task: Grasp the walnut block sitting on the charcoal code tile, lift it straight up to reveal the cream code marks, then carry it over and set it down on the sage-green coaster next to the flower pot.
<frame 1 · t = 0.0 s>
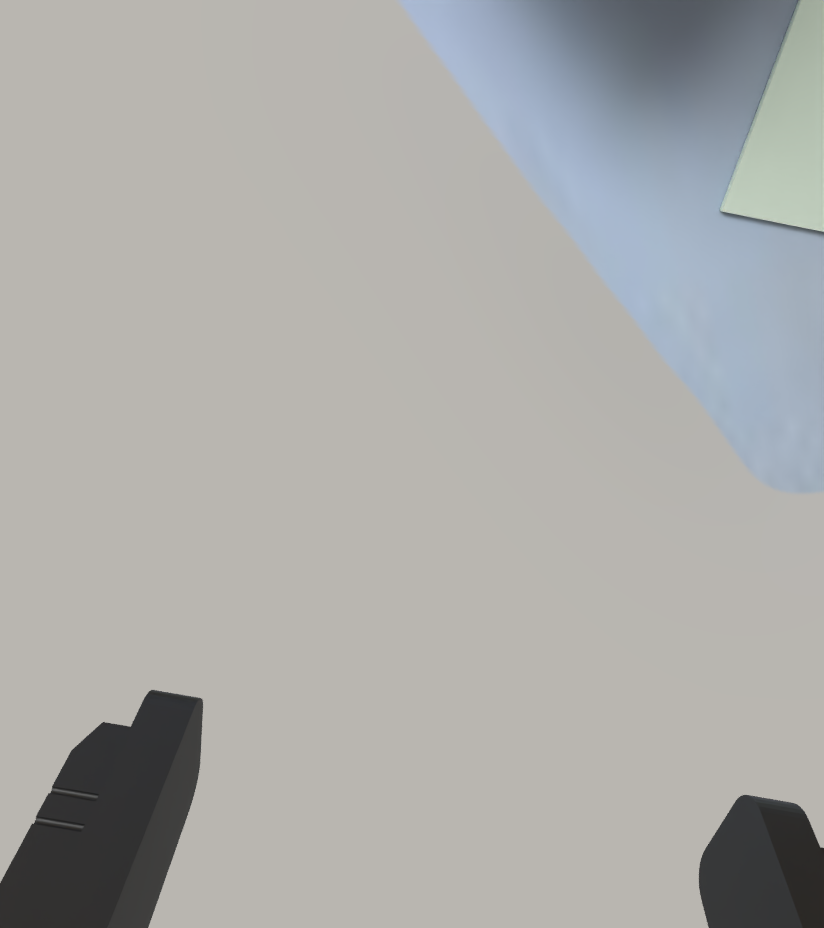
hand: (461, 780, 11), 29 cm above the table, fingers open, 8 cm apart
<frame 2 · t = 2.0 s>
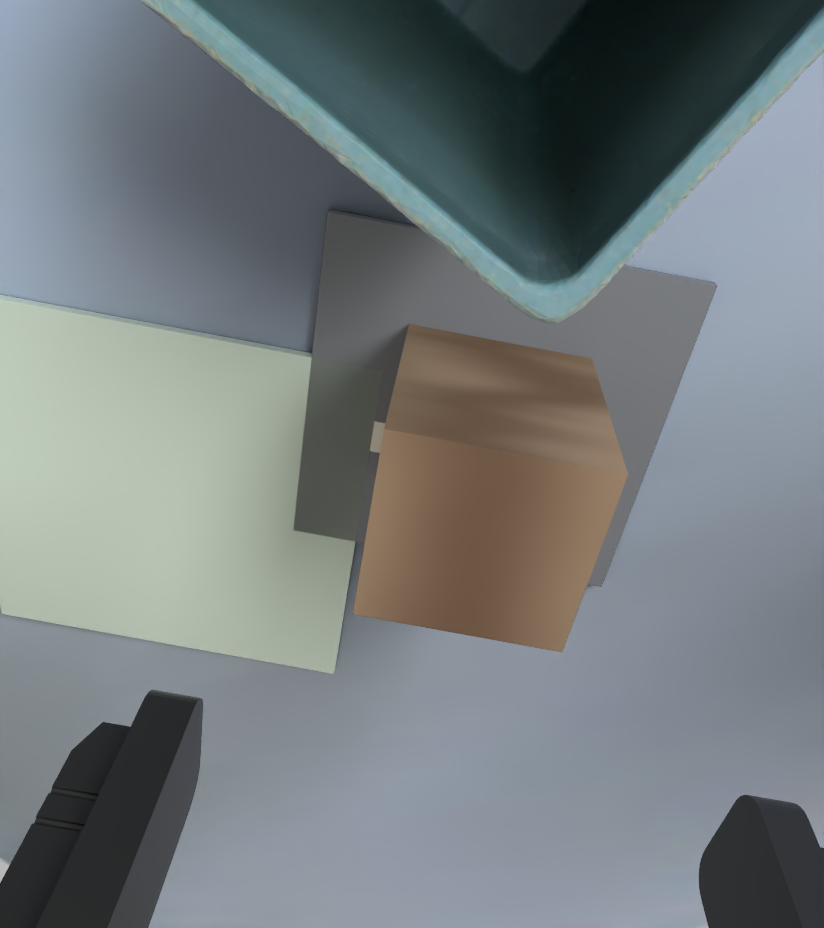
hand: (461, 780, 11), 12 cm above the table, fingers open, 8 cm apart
walnut block: (480, 422, 22), resting on code tile
code tile: (481, 417, 22), on the table
coaster: (172, 502, 24), on the table
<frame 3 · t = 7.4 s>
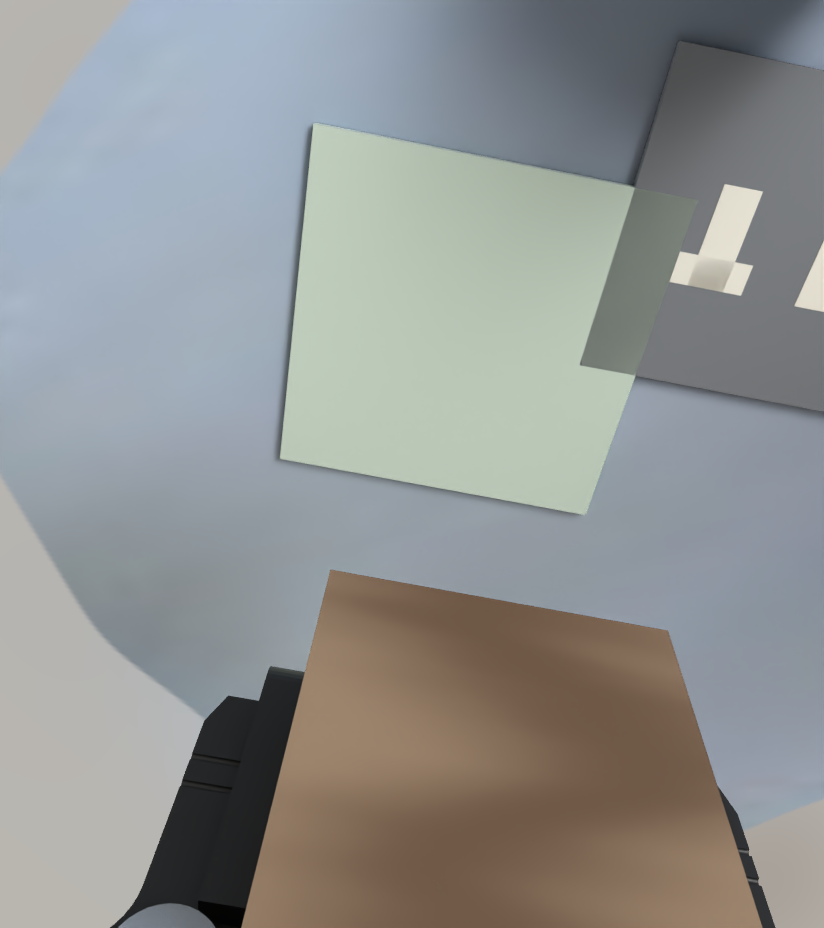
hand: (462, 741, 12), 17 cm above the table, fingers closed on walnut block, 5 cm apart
walnut block: (464, 716, 12), point 17 cm above the table, touching gripper
code tile: (775, 248, 24), on the table
coaster: (466, 340, 27), on the table
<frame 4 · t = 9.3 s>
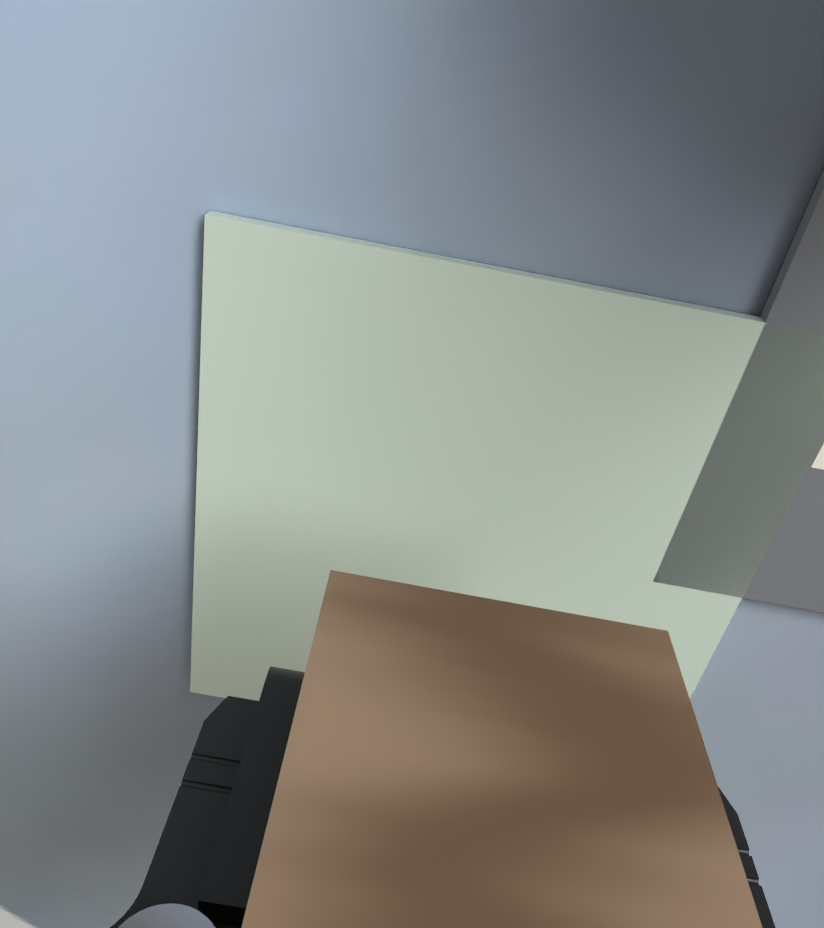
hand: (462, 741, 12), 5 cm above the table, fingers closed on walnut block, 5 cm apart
walnut block: (464, 716, 12), point 5 cm above the table, touching gripper
coaster: (471, 540, 17), on the table
when the fingers open (2 cm above the table, at t = 11.0 s): walnut block drops 1 cm, resting on coaster.
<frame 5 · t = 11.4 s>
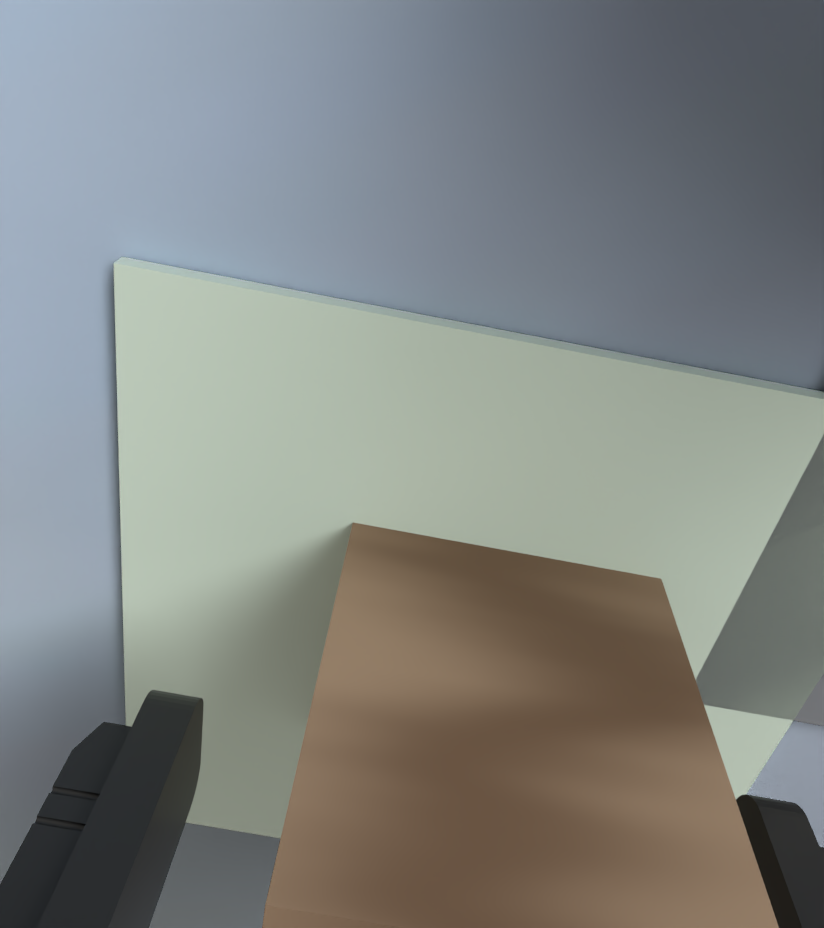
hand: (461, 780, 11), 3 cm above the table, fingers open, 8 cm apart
walnut block: (474, 662, 13), resting on coaster
coaster: (463, 649, 14), on the table
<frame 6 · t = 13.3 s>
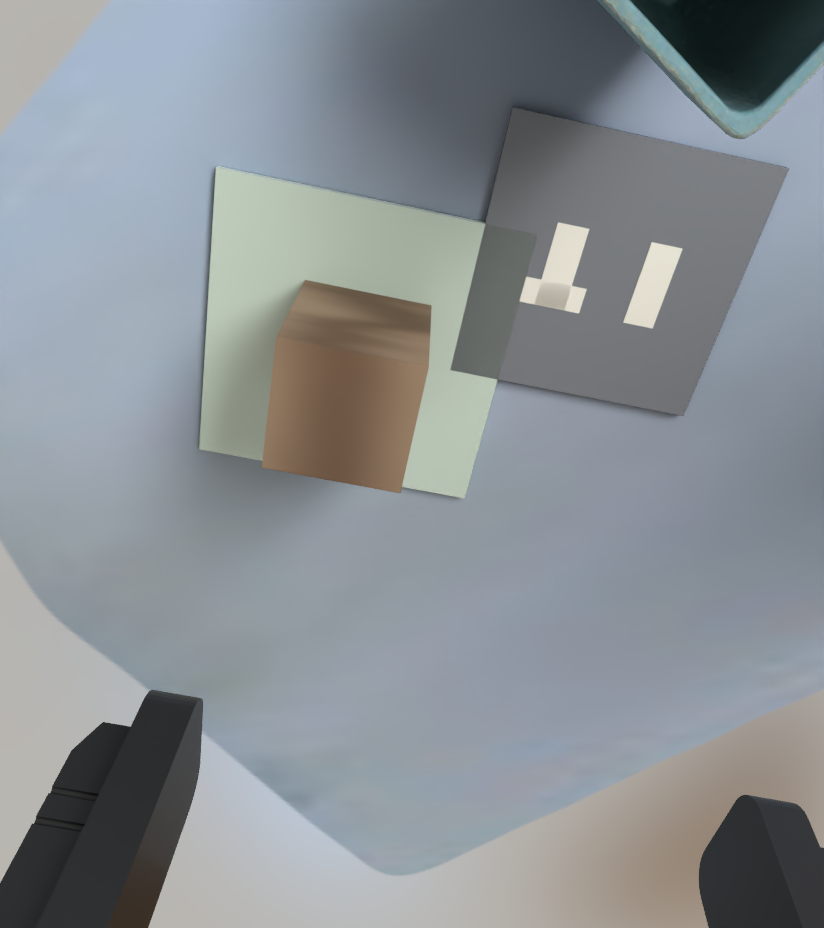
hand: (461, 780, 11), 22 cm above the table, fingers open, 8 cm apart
walnut block: (358, 351, 31), resting on coaster
code tile: (605, 274, 29), on the table
coaster: (354, 348, 31), on the table
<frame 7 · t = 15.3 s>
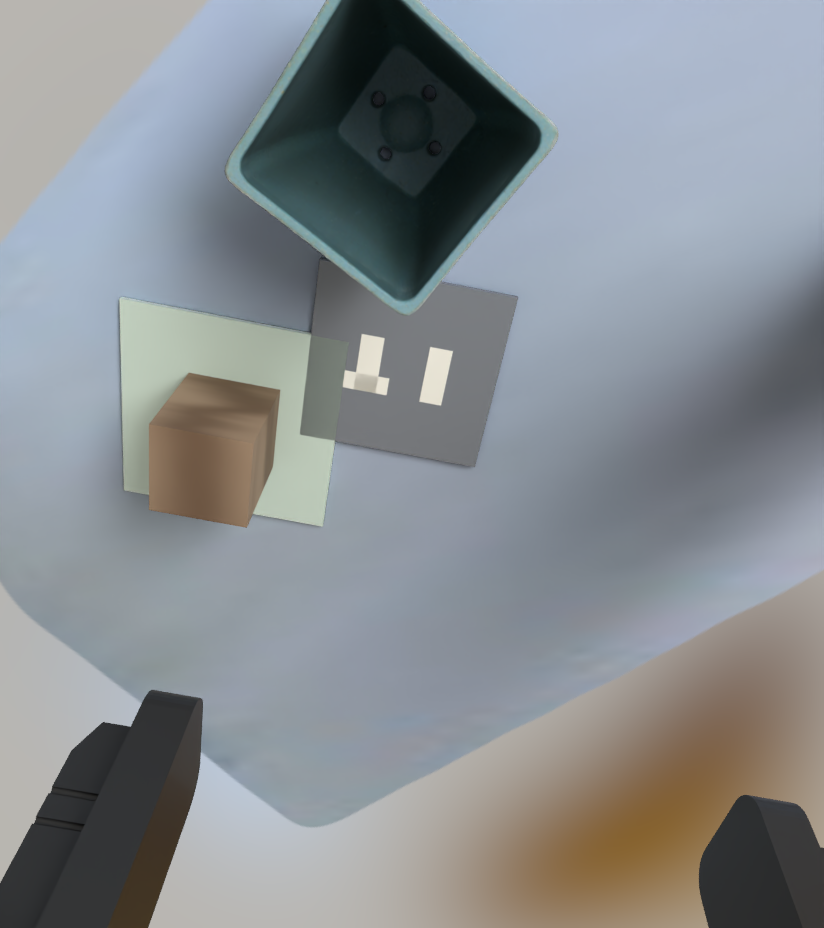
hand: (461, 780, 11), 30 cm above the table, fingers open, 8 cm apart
walnut block: (232, 421, 43), resting on coaster
code tile: (402, 368, 41), on the table
coaster: (230, 418, 43), on the table
flower pot: (405, 122, 35), on the table
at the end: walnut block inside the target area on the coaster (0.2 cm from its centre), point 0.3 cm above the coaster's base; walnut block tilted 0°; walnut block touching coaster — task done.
